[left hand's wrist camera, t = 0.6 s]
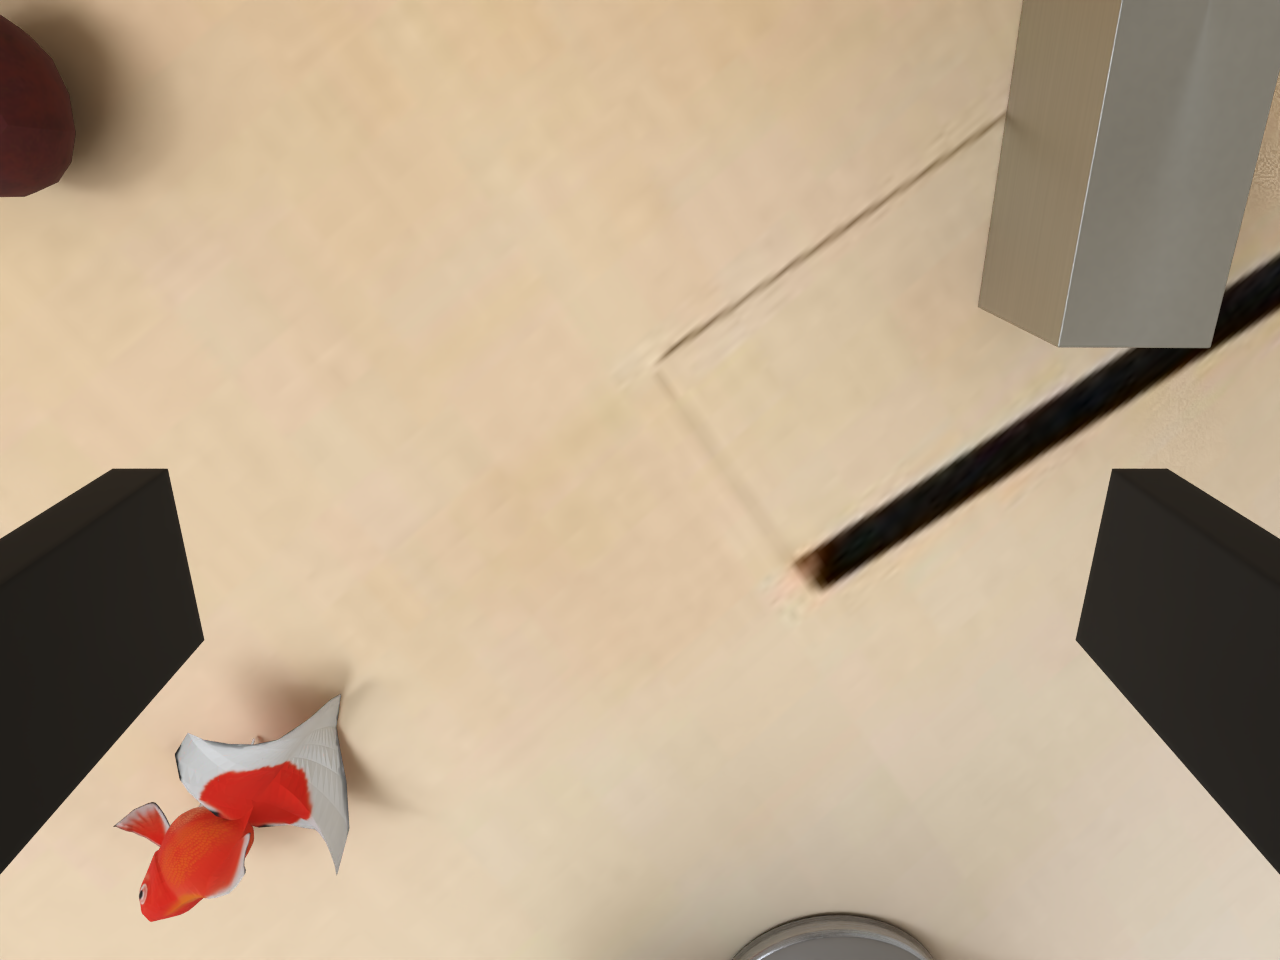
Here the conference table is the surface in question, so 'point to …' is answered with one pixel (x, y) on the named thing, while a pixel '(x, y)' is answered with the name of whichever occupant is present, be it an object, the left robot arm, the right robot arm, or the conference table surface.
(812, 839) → the conference table surface
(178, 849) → the fish
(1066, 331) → the box
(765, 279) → the conference table surface
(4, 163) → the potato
